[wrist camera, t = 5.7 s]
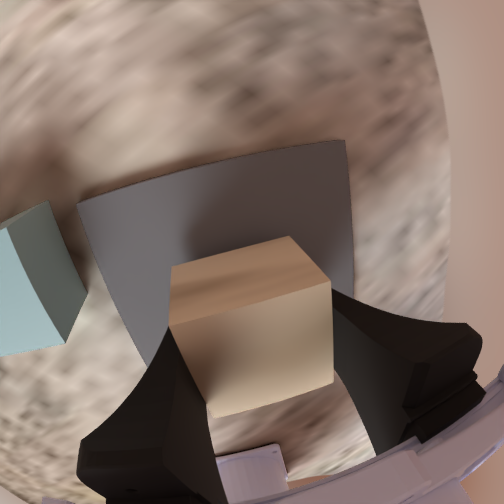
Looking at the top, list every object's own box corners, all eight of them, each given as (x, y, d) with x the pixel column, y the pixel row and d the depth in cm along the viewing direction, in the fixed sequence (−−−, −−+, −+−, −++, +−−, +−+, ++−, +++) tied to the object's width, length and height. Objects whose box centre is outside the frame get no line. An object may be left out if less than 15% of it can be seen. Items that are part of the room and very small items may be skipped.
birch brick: (301, 326, 15) (333, 382, 11) (204, 354, 14) (214, 418, 10) (289, 235, 12) (330, 280, 9) (171, 266, 12) (168, 325, 8)
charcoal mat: (348, 337, 18) (352, 342, 17) (164, 389, 16) (164, 395, 16) (339, 139, 13) (344, 140, 12) (79, 201, 11) (75, 204, 11)
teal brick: (88, 292, 13) (65, 343, 10) (21, 312, 13) (-7, 358, 9) (49, 199, 11) (6, 227, 7) (-17, 232, 10) (-60, 264, 7)
